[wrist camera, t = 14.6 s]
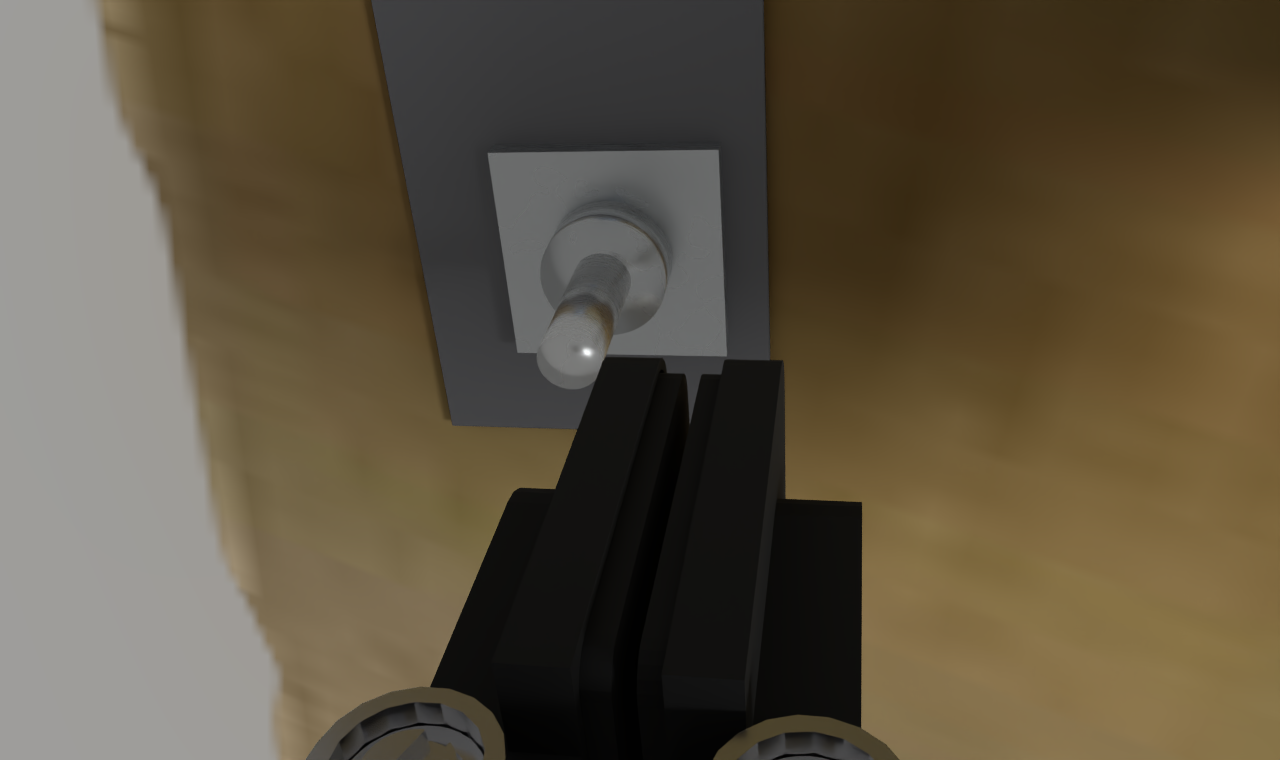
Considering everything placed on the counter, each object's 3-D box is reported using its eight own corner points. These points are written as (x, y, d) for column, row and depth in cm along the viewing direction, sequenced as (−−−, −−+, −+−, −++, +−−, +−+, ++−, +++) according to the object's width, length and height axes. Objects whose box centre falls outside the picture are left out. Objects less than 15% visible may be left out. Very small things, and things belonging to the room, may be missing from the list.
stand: (720, 141, 39) (691, 242, 33) (728, 345, 43) (704, 472, 37) (493, 144, 41) (421, 241, 34) (522, 342, 45) (463, 463, 38)
